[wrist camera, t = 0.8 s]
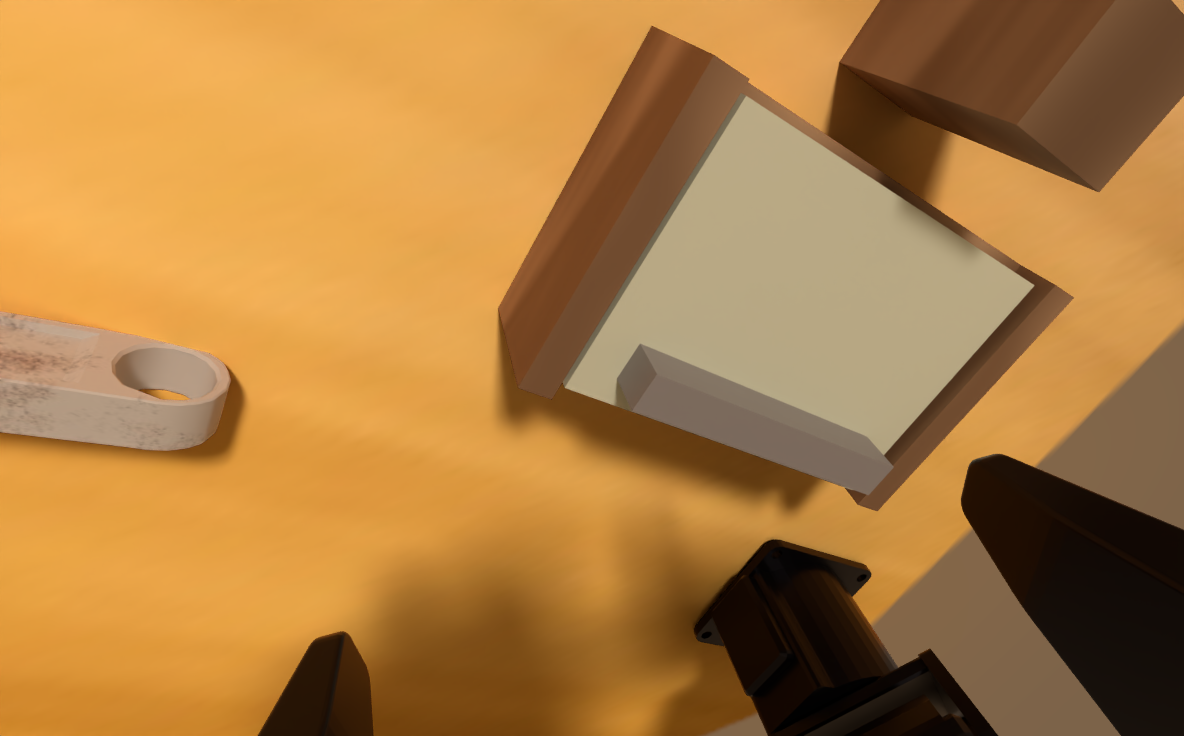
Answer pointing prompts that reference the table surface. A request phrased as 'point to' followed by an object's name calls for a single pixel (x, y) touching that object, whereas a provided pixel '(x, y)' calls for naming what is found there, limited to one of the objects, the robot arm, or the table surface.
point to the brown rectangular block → (1031, 74)
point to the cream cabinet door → (793, 308)
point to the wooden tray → (642, 199)
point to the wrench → (105, 386)
